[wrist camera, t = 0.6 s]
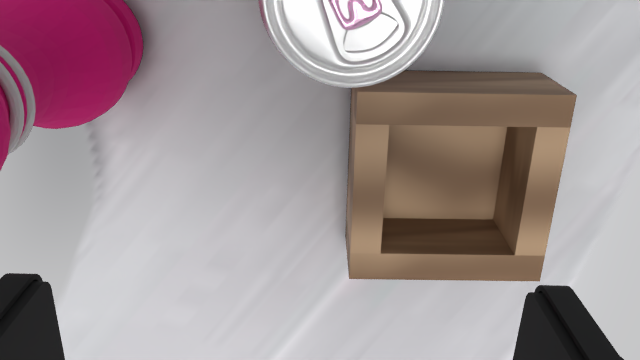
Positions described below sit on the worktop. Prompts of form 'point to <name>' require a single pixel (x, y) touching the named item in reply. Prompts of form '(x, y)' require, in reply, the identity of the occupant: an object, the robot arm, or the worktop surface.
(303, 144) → the worktop surface
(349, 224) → the holder
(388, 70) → the beverage can
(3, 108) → the pepper mill
